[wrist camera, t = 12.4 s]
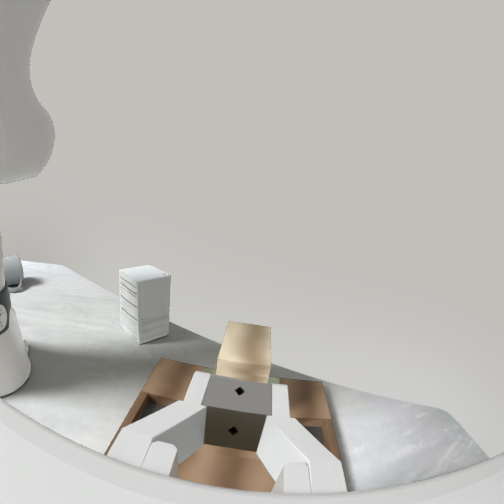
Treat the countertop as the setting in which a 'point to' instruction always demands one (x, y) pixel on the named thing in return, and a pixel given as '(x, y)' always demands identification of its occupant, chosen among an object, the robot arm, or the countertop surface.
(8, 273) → the ceramic mug
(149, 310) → the supplement box
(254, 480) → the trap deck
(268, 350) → the birch block
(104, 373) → the countertop surface
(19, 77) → the robot arm
